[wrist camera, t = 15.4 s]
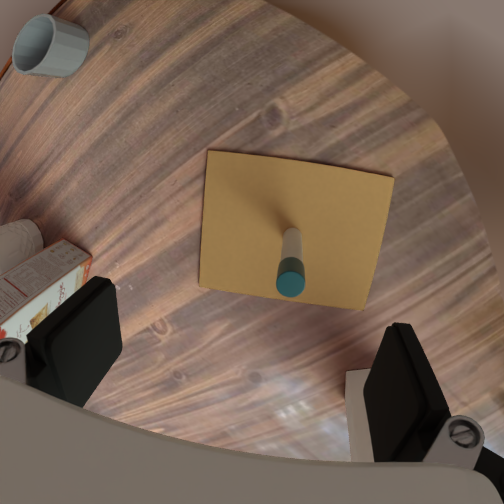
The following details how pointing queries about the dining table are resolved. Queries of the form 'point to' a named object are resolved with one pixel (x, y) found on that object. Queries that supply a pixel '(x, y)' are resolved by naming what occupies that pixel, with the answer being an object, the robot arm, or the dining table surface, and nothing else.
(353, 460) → the milk
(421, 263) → the dining table surface
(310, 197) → the cork mat
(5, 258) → the white cup
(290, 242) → the marker
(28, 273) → the cracker box
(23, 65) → the pen pot
